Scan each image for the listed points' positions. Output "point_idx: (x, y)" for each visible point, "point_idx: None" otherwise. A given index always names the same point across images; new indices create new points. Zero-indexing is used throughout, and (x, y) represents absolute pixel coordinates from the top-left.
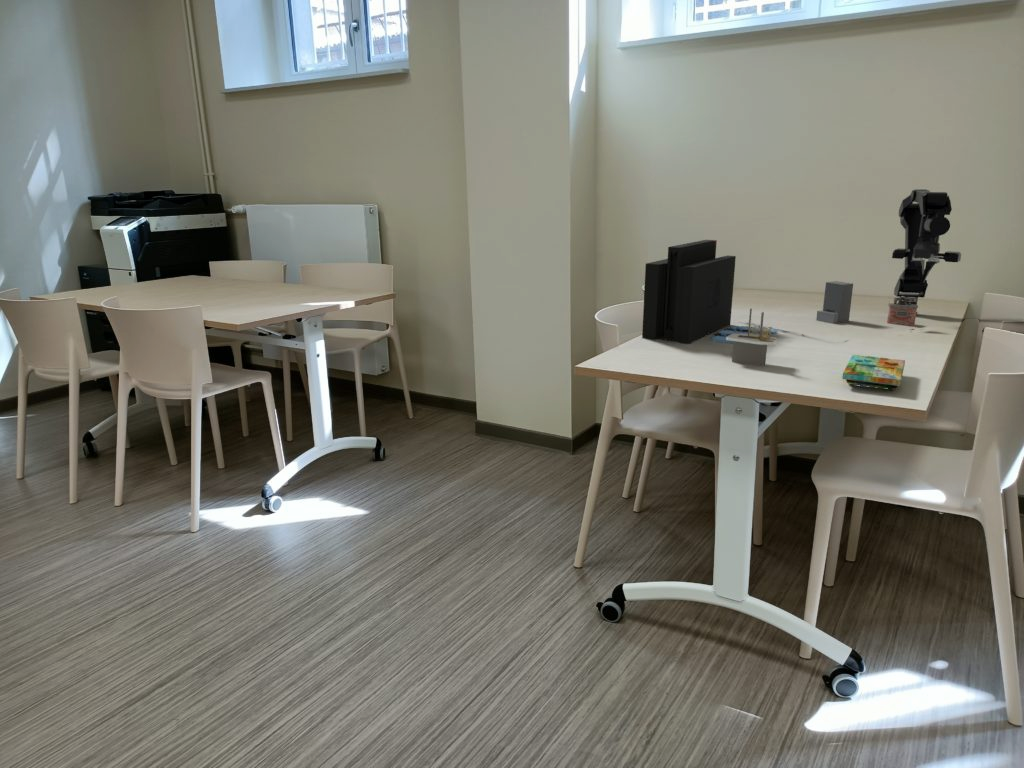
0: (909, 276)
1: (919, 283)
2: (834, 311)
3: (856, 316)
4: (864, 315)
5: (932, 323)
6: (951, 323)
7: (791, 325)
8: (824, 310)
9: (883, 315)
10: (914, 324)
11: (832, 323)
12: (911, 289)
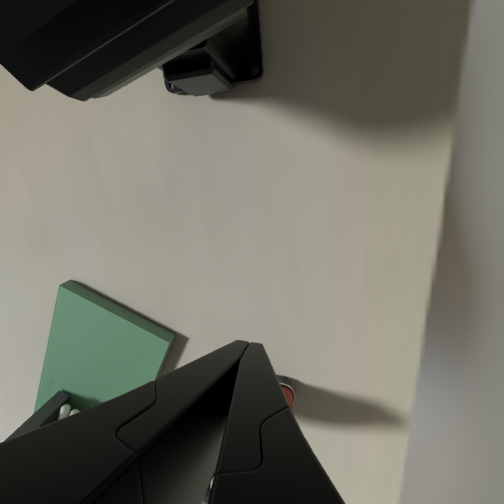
0: (23, 13)
1: (189, 15)
2: (47, 421)
3: (74, 237)
4: (84, 196)
5: (350, 237)
6: (438, 186)
7: None
8: None
9: (137, 147)
10: (292, 403)
11: None
12: (160, 63)
